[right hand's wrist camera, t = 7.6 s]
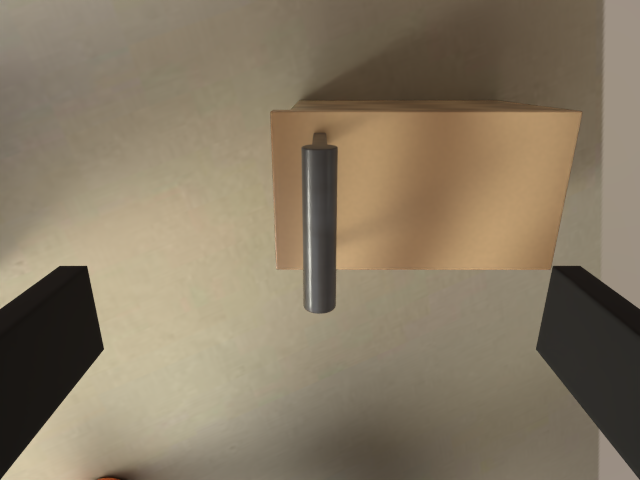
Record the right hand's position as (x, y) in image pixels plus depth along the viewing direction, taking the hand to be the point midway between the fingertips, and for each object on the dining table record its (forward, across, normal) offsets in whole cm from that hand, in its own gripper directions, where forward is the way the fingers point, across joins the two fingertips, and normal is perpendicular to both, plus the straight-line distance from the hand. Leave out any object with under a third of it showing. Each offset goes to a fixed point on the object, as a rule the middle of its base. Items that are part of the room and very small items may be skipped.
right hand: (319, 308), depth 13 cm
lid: (+14, -6, 0) cm, 15 cm away
